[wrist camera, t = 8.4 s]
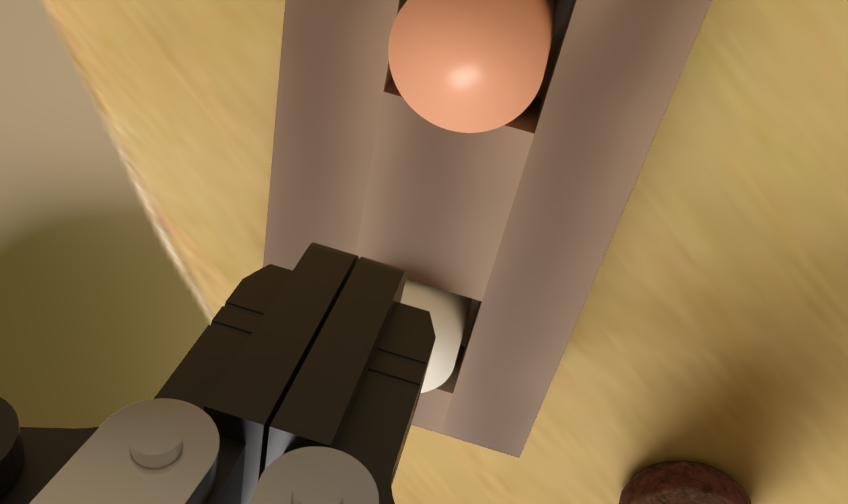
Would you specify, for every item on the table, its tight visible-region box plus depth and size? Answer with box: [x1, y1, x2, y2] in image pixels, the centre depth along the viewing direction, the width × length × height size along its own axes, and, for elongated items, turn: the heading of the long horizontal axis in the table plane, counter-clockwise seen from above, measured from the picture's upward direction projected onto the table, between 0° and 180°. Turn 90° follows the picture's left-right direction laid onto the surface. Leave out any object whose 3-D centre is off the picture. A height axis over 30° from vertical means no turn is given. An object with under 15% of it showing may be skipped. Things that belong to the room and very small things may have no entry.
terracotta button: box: [388, 0, 556, 133], centre depth 22 cm, size 4×4×4 cm
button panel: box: [263, 0, 712, 458], centre depth 27 cm, size 12×22×4 cm, turn 169°
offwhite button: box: [400, 279, 472, 393], centre depth 29 cm, size 4×4×4 cm
